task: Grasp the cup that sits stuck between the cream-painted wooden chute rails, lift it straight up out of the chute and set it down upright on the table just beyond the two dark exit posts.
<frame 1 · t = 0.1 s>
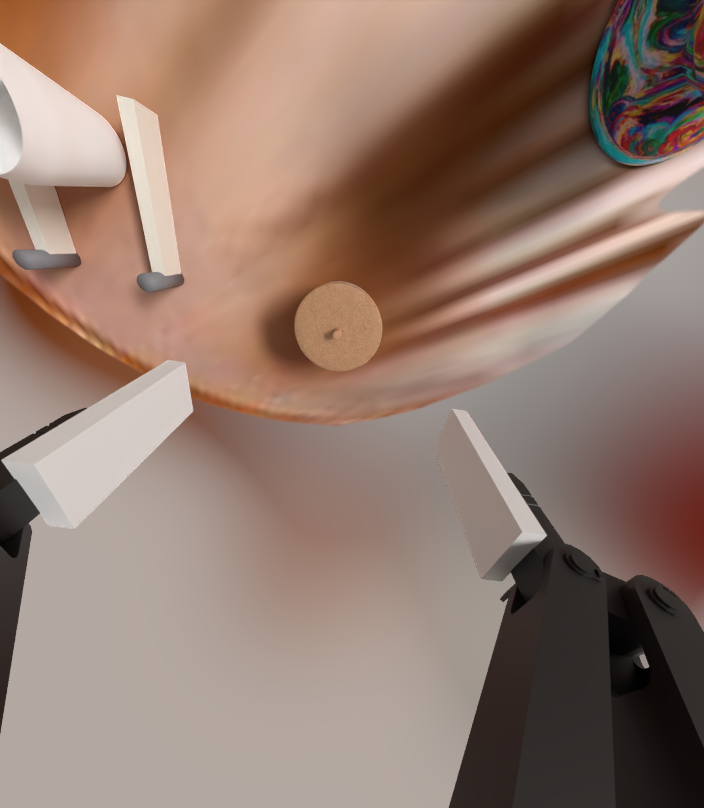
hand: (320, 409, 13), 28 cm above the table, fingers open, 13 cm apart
cup: (97, 149, 29), on the table
chute: (106, 194, 31), on the table
vase: (681, 51, 25), on the table
lidded jar: (341, 316, 38), on the table
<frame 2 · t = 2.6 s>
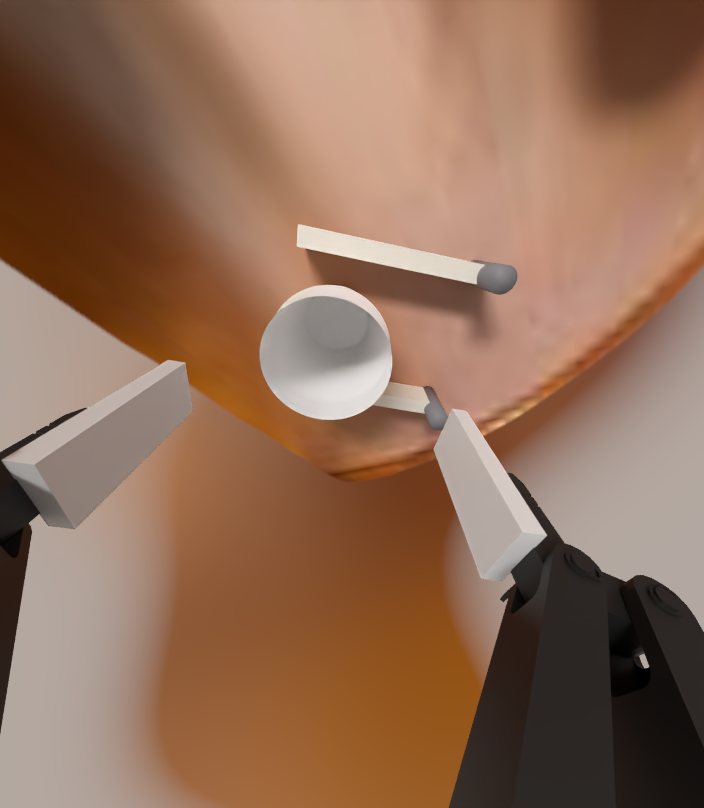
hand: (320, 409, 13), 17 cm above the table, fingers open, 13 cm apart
cup: (337, 319, 27), on the table
chute: (374, 326, 28), on the table
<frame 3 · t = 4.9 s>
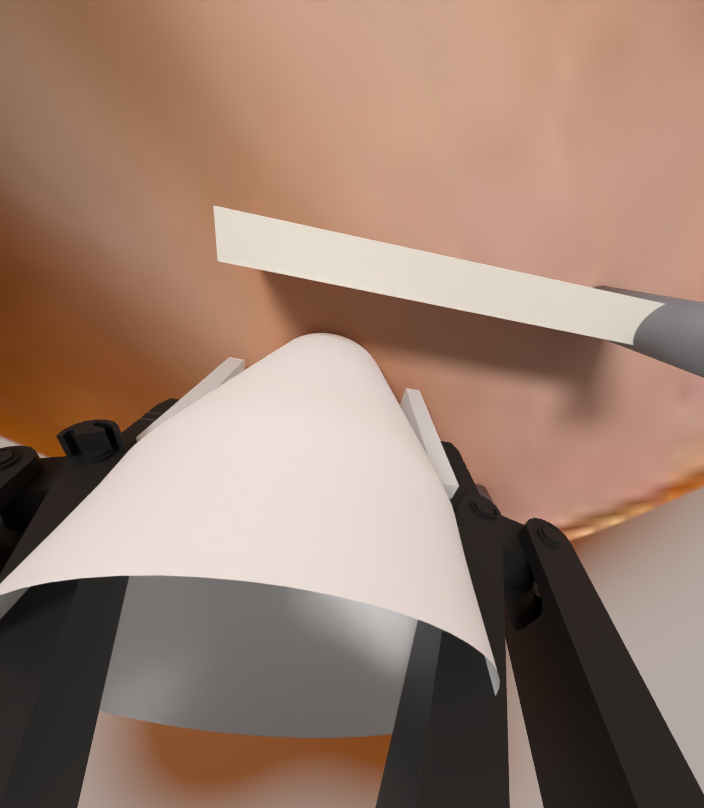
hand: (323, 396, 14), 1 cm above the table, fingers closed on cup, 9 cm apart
cup: (325, 387, 15), on the table, touching gripper
chute: (392, 399, 15), on the table
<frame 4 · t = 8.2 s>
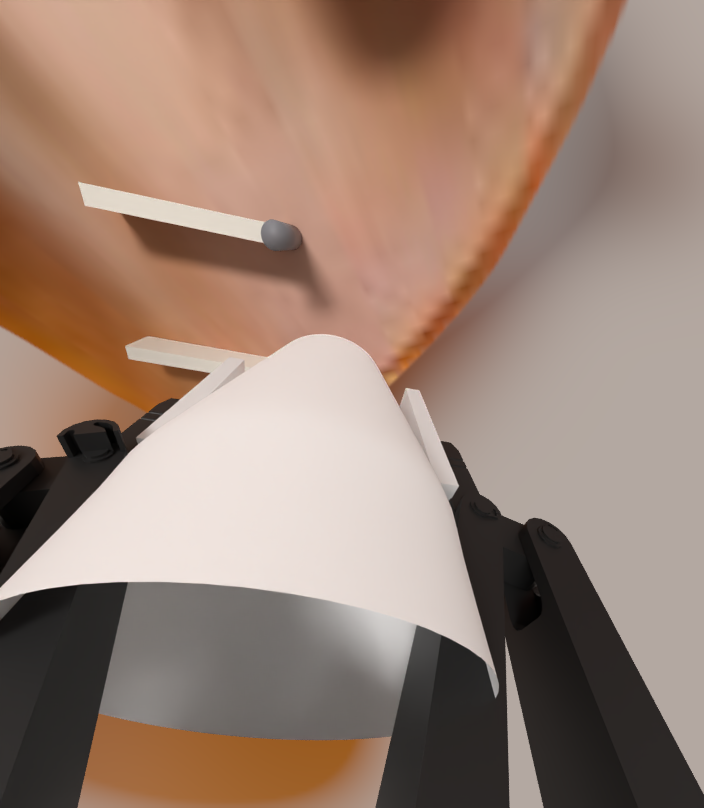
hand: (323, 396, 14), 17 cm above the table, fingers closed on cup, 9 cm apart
cup: (325, 388, 15), point 16 cm above the table, touching gripper
chute: (213, 295, 28), on the table
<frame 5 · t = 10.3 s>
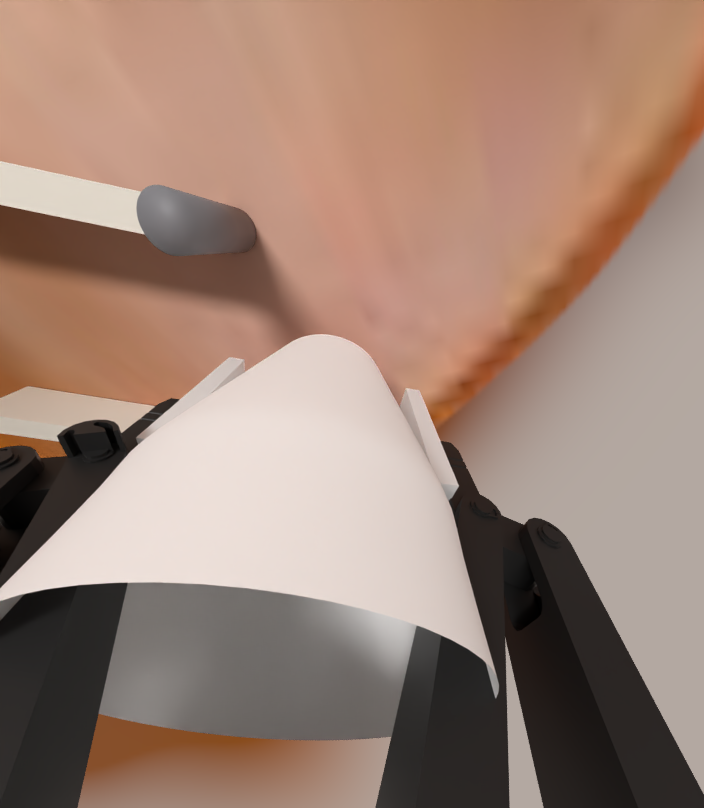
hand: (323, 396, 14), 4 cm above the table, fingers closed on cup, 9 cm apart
cup: (325, 388, 15), point 3 cm above the table, touching gripper
chute: (117, 326, 17), on the table
when the fingers open (2 cm above the table, at t = 11.8 s): cup drops 1 cm, on the table.
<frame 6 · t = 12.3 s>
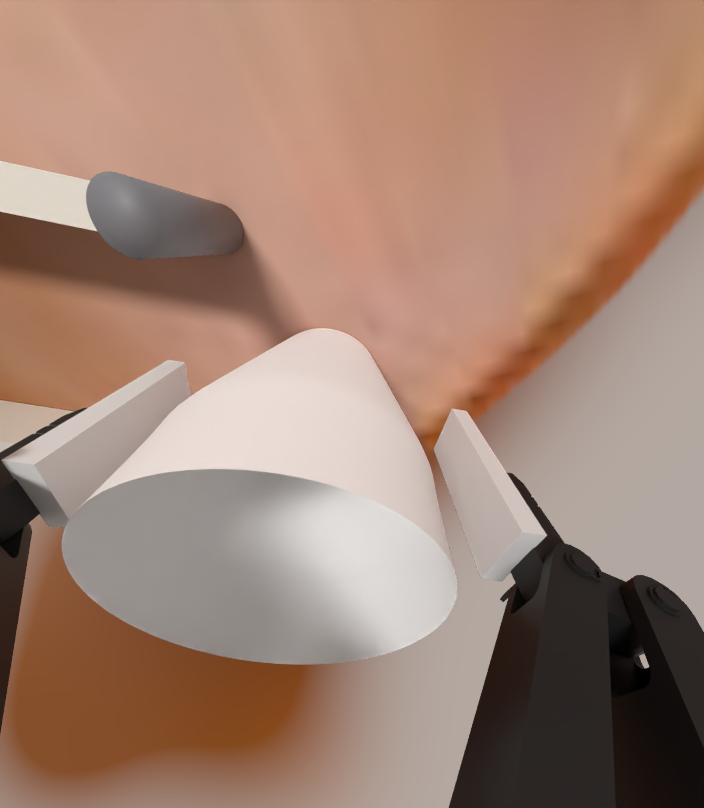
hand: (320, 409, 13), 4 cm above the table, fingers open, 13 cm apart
cup: (325, 378, 17), on the table
chute: (92, 336, 15), on the table
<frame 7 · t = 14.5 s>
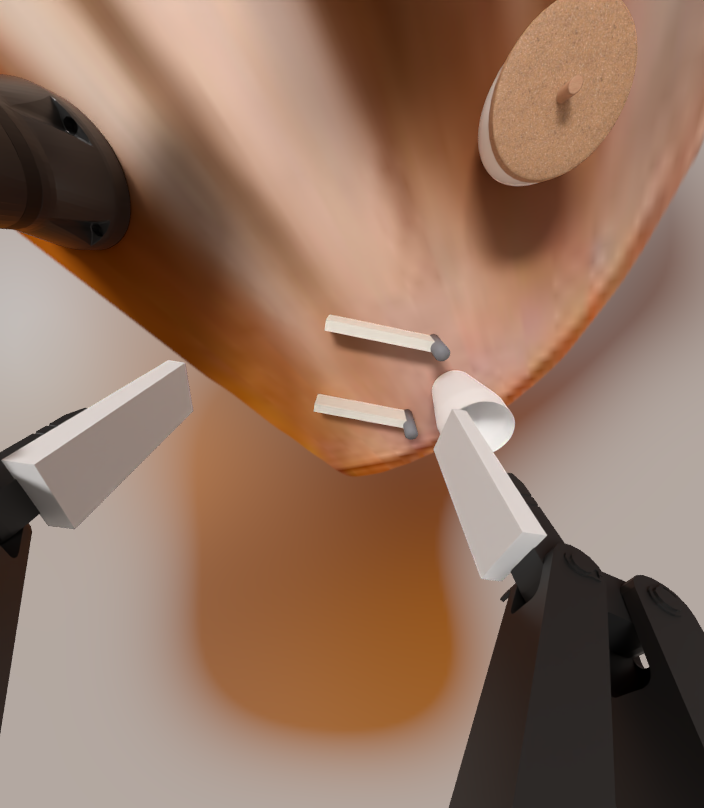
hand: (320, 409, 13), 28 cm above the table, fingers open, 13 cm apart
cup: (451, 387, 43), on the table
chute: (371, 371, 42), on the table
lidded jar: (514, 134, 28), on the table
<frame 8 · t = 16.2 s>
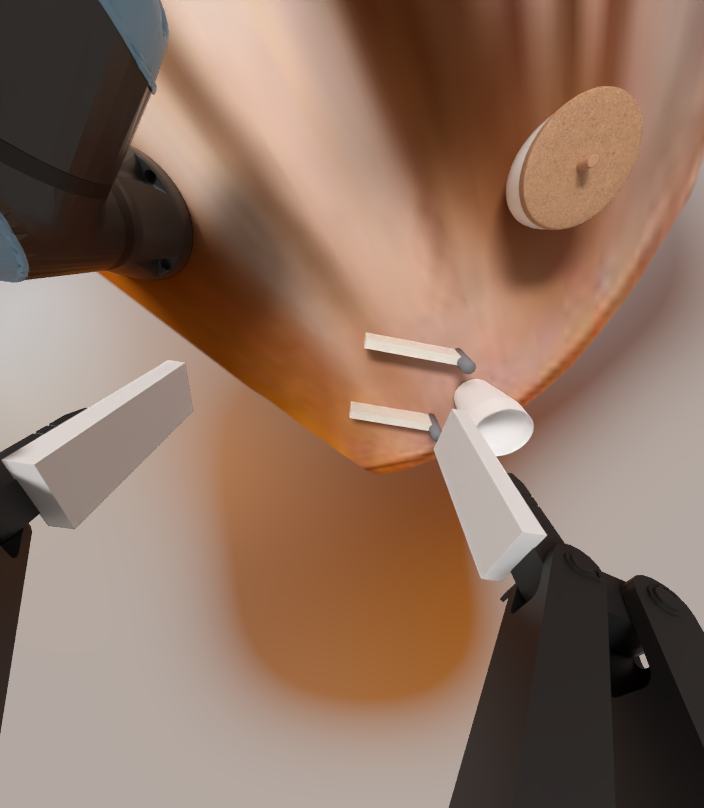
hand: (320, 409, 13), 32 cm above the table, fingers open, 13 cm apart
cup: (471, 394, 49), on the table
chute: (400, 380, 47), on the table
lidded jar: (535, 181, 33), on the table
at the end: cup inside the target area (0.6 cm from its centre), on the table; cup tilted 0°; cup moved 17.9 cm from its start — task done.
